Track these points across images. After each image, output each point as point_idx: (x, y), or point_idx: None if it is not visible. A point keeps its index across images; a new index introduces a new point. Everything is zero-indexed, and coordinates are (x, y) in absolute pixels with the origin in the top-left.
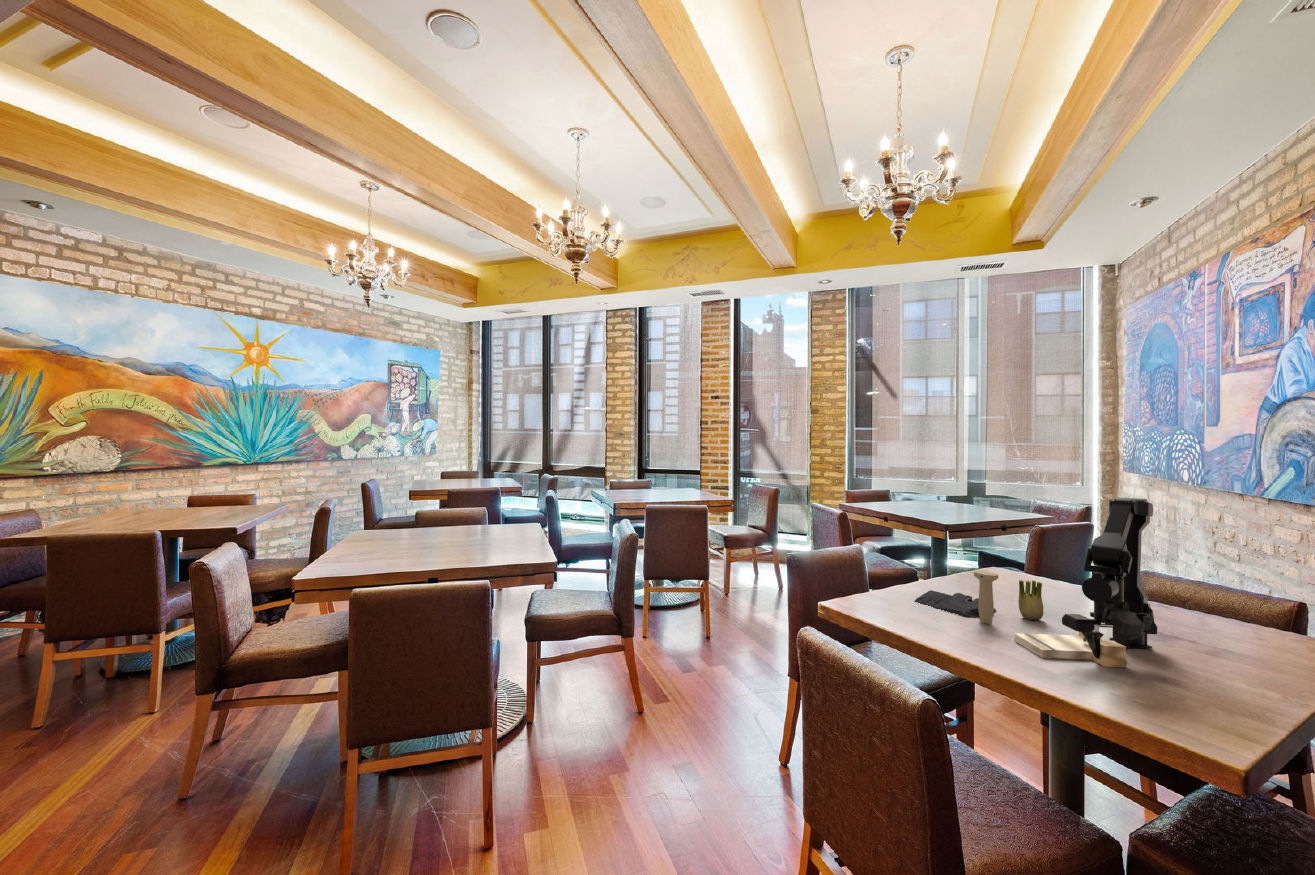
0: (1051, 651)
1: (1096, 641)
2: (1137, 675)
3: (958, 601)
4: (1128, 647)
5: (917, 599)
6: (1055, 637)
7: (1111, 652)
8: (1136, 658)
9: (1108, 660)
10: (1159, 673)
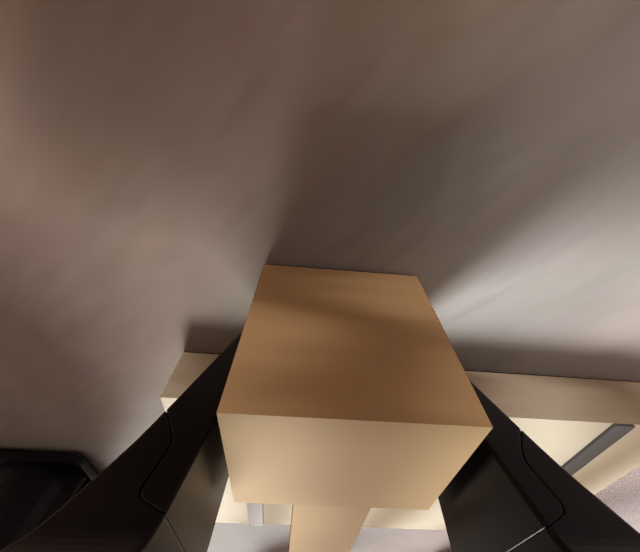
0: (633, 416)
1: (572, 499)
2: (292, 109)
3: None
4: (165, 413)
5: None
6: (397, 514)
7: (386, 358)
8: (97, 376)
9: (398, 304)
10: (53, 156)
